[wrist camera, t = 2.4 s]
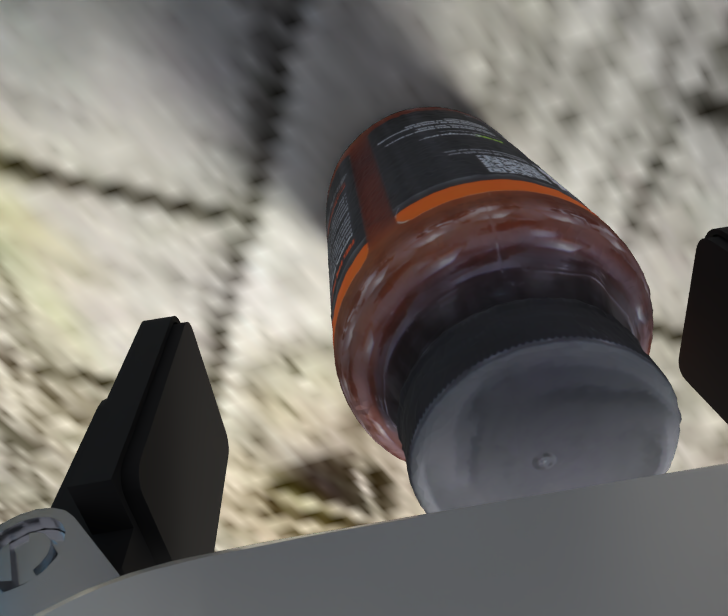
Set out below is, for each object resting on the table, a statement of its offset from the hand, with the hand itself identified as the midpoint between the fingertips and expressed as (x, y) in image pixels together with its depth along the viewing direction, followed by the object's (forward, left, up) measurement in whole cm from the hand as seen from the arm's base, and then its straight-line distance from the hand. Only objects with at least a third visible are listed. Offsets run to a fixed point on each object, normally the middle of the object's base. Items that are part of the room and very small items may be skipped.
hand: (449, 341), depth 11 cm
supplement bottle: (-1, 0, -8) cm, 8 cm away
